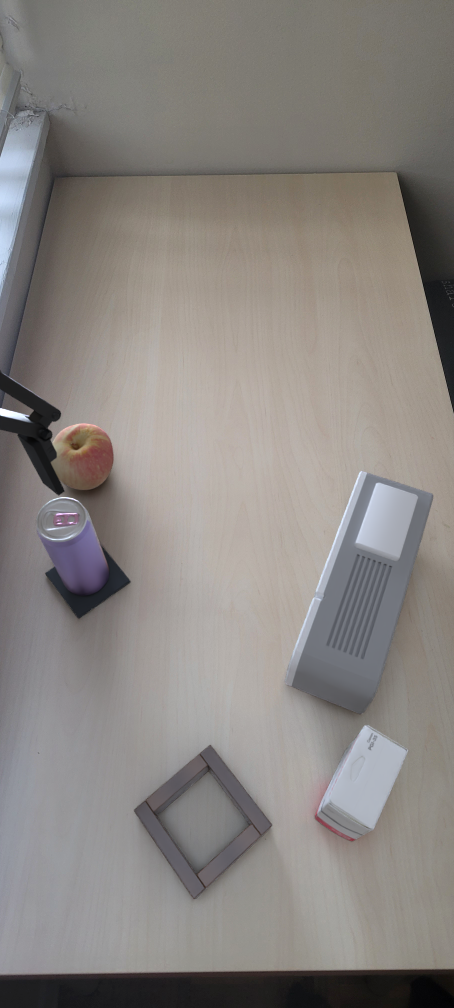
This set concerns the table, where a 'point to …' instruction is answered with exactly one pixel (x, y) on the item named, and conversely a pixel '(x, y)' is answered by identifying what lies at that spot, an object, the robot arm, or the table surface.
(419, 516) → the alarm clock
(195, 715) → the table surface
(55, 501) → the beverage can
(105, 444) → the apple
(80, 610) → the coaster
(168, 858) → the holder
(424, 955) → the table surface
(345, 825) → the ink box
